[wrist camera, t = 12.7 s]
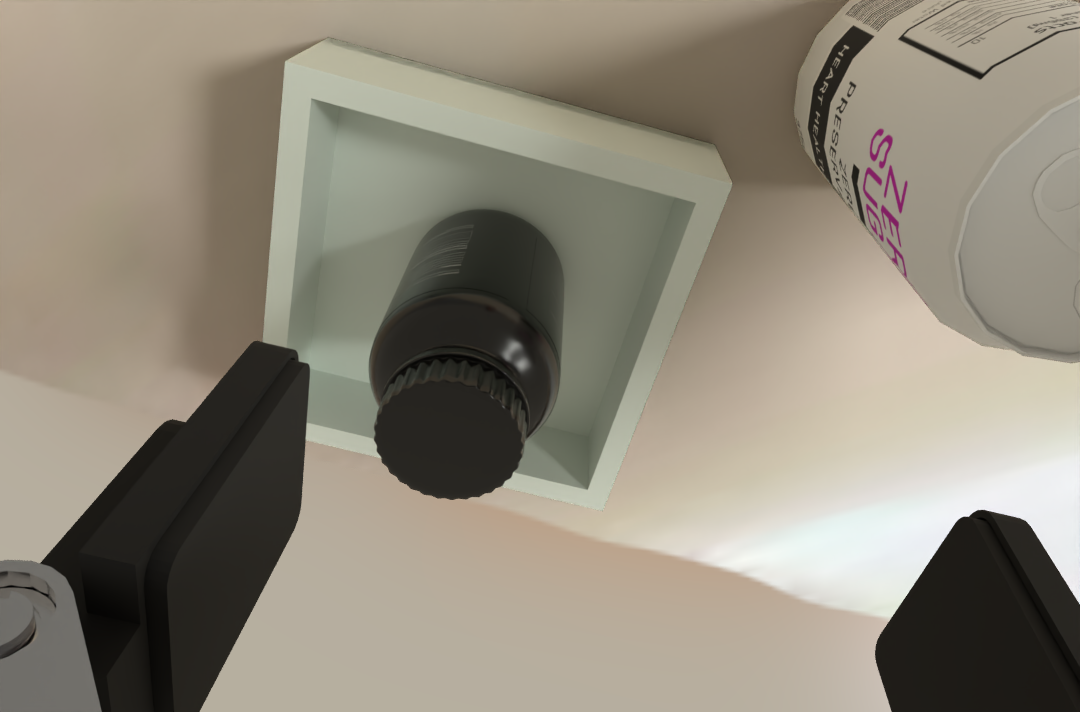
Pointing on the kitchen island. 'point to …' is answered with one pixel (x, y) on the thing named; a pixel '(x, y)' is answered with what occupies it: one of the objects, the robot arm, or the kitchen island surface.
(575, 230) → the bin
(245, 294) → the kitchen island surface
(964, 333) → the supplement can
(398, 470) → the supplement bottle
